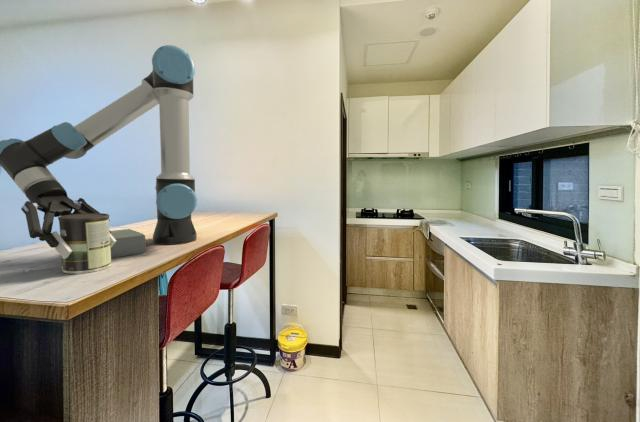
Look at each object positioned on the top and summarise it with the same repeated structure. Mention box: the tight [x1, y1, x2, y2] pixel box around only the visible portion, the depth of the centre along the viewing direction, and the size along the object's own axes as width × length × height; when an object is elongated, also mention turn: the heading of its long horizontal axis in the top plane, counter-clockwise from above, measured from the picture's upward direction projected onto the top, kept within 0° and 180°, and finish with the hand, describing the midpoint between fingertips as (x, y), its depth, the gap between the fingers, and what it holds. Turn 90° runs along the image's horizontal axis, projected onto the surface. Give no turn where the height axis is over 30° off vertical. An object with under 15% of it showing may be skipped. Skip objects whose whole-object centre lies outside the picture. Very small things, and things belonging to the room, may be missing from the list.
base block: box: [110, 228, 147, 259], centre depth 91 cm, size 13×13×6 cm
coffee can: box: [57, 212, 113, 275], centre depth 75 cm, size 10×10×14 cm
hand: (92, 249), depth 75 cm, fingers open, 11 cm apart
